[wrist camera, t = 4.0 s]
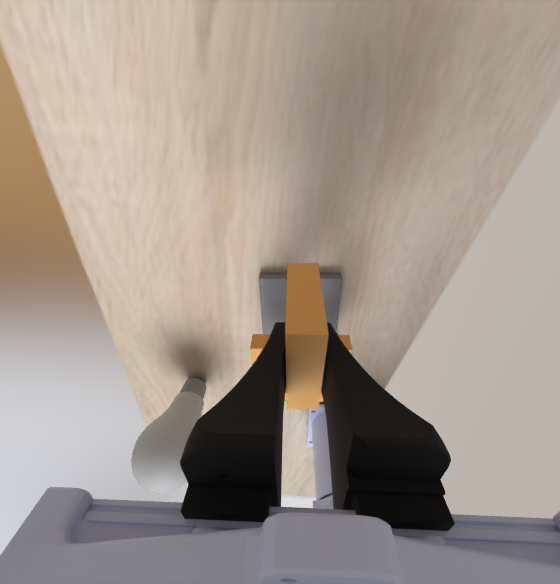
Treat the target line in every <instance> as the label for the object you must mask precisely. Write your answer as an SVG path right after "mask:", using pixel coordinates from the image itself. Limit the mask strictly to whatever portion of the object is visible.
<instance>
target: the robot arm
mask: <svg viewBox="0 0 560 584" xmlns="http://www.w3.org/2000/svg"><path fill="white" fill-rule="evenodd" d="M285 325H286V322H276V323H275V324H274V327H273V330H272V332H271V334H270V336H269V339H268V341H267V342H266V344H265V346H264V348H263V350H262V351H261V353H260V354H259V356H258V357H257V359H256V361H255V362H254V363H253V365H252V366H251V368H250V369H249V370H248V372H247V373H246V374H245V375H244V377H243V378H242V379H241V380H240V381H239V382H238V383H237V385H236V386H235V387H234V388H233V389H232V390H231V391H230V392H229V393H228V394H227V395H226V396H225V397H224V398H223V399H222V400H221V401H220V402H218V403H217V404H216V405H215V406H214V407H213V408H212V409H210V410H209V411H208V412H207V413H205V414H204V415H203V416H202V417H201V418H199V419H198V420H197V422H196V423H195V425H194V427H193V429H192V431H191V433H190V435H189V437H188V440H187V442H186V445H185V448H184V451H183V454H182V457H181V460H180V466H181V469H182V471H183V473H184V475H185V477H186V479H187V482H188V484H189V485H188V488H187V492H186V495H185V498H184V501H183V503H177V502H154V501H130V500H108V499H93V498H92V496H91V495H90V493H89V492H87V491H86V490H83V489H80V488H64V487H50V488H48V489H47V490H46V492H45V493H44V494H43V496H42V497H41V498H40V500H39V501H38V503H37V504H36V506H35V507H34V508H33V510H32V511H31V513H30V514H29V515H28V517H27V518H26V520H25V521H24V523H23V524H22V525H21V527H20V528H19V530H18V531H17V532H16V534H15V535H14V537H13V538H12V540H11V541H10V542H9V544H8V546H7V547H6V548H5V550H4V551H3V553H2V554H1V555H0V584H560V512H558V513H557V514H556V515H555V516H554V517H553V519H546V518H523V517H500V516H477V515H454V514H453V515H452V514H451V513H450V511H449V509H448V506H447V504H446V502H445V499H444V497H443V495H445V490H444V487H443V485H442V483H441V480H440V479H441V478H442V476H443V475H444V473H445V471H446V470H447V469H448V467H449V464H450V462H451V458H450V455H449V452H448V450H447V449H446V447H445V444H444V443H443V441H442V439H441V438H440V436H439V434H438V433H437V432H436V430H435V428H434V426H432V425H431V424H430V423H428V422H427V421H425V420H424V419H422V418H421V417H419V416H418V415H416V414H415V413H413V412H412V411H411V410H409V409H408V408H407V407H405V406H404V405H403V404H401V403H400V402H399V401H397V400H396V399H395V398H394V397H393V396H391V395H390V394H389V393H388V392H387V391H386V390H384V389H383V388H382V387H381V386H380V385H379V384H378V383H377V382H376V381H375V380H374V379H373V378H372V377H371V376H370V375H369V374H368V373H367V372H366V371H365V370H364V369H363V368H362V367H361V365H360V364H359V363H358V362H357V361H356V359H355V358H354V357H353V356H352V354H351V353H350V352H349V350H348V349H347V348H346V346H345V345H344V344H343V342H342V341H341V339H340V338H339V336H338V334H337V333H336V331H335V330H334V328H333V326H332V324H331V323H330V322H327V327H328V334H329V336H328V343H327V351H326V358H325V366H324V373H323V380H322V388H321V391H322V397H323V402H324V404H319V409H309V418H308V433H307V447H309V448H313V457H314V472H315V487H316V501H313V508H293V507H281V474H282V432H283V409H284V400H285V391H286V346H285Z"/></svg>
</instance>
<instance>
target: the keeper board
mask: <svg viewBox="0 0 560 584" xmlns="http://www.w3.org/2000/svg"><path fill="white" fill-rule="evenodd" d="M319 274H320V280H321V287H322V294H323V300H324V307H325V314H326V320H327V322H330V323H331V324H332V326H333V328H334V330H335V331H336V327H337V319H338V311H339V303H340V295H341V287H342V276H341V273H319ZM259 288H260V301H261V314H262V328H263V334H271V332H272V330H273V327H274V324H275V323H276V322H286V293H287V273H260V276H259Z"/></svg>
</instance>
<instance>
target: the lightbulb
mask: <svg viewBox="0 0 560 584" xmlns="http://www.w3.org/2000/svg"><path fill="white" fill-rule="evenodd" d="M205 391H206V384H205V383H204V381H202V380H201V379H199V378H190V379H188V380H187V381H186V382H185V384H184V385H183V387H182V389H181V391H180V393H179V394H178V395H177V396H176V397H175V399H174V401H173V403H172V404H171V405H170V407H169V408H168V409H167V410H166V411H165V412H164V413H163V414H162V415H161V416H160V417H158V418H157V419H156V420H154V421H153V422H152V423H151V424H150V425H149V426H148V427H146V429H145V430H144V431H143V432H142V434H141V435H140V436H139V438H138V440H137V441H136V444H135V446H134V450H133V453H132V460H131V462H132V471H133V474H134V477H135V479H136V480H137V482H138V483H139V484H140V485H141V486H142V487H143V488H144V489H145V490H147V491H150V492H153V493H167V492H171V491H173V490H175V489H178V488H180V487H181V486H183V485H184V484H185V483H186V482H187V479H186V477H185V475H184V473H183V471H182V469H181V466H180V460H181V457H182V454H183V451H184V448H185V445H186V442H187V440H188V437H189V435H190V433H191V431H192V429H193V427H194V425H195V423H196V422H197V420H198V419H199V418H201V413H202V409H203V404H204V402H203V398H204V395H205Z"/></svg>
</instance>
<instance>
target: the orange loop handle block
mask: <svg viewBox="0 0 560 584" xmlns="http://www.w3.org/2000/svg"><path fill="white" fill-rule="evenodd" d="M269 336H270V334H253V336H252V341H251V347H250V350H251V356H252V362H253V363H254V362H255V361H256V359H257V357H258V356H259V354H260V353H261V351H262V350H263V348H264V346H265V344H266V342H267V341H268V339H269ZM328 336H329V334H328V327H327V320H326V314H325V307H324V300H323V294H322V287H321V280H320V274H319V267H318V263H287V293H286V325H285V346H286V391H285V400H284V401H287V409H319V402H323V397H322V391H321V388H322V380H323V373H324V366H325V358H326V351H327V343H328ZM338 336H339V338H340V339H341V341H342V342H343V344H344V345H345V346H346V348H347V349H348V350H349V352H350V353H351V354H352V346H351V342H350V338H349V335H338Z"/></svg>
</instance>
